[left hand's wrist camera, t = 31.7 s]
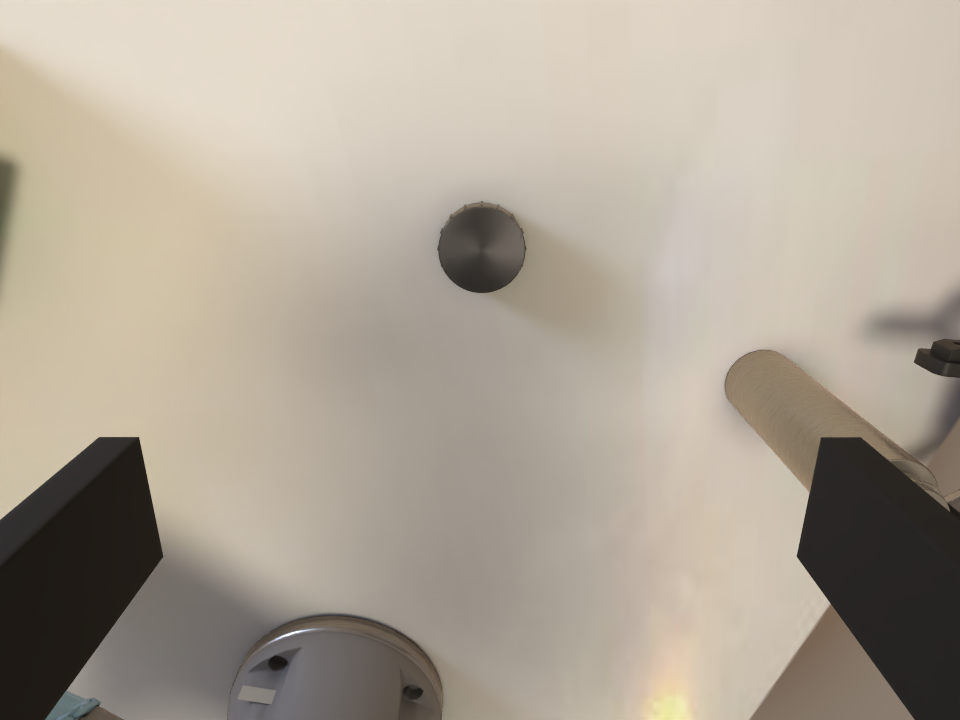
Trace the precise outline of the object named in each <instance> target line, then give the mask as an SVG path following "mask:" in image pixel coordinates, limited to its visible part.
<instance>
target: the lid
mask: <svg viewBox="0 0 960 720" xmlns="http://www.w3.org/2000/svg"><path fill="white" fill-rule="evenodd" d="M440 233H441V237H440V241H439V245H438V250H439V259H440V262H441V266H442V268H443V270H444V271H445V273H446V275H447V276H448V277H449V278H450V279H451V280H452V281H453V282H454V283H455V284H456V285H458V286H459V287H461V288H463V289H465V290H468V291H471V292H477V293H487V292H492V291H496V290H498V289H501V288H503V287H504V286H506V285H507V284H509V283H510V282H511V281H512V280H513V279H514V278H515V277H516V276H517V274H518V273H519V271H520V269H521V267H522V266H523V261H524V257H525V250H526V246H525V242H524V238H523V235H522V234H523V230H522V228H520V227H519V225H518V223H517V221H516V220H515V219H514V216H513V214H510V213H508V212H507V211H506V210H504V209H503V208H501V207H500V205H493V204H490V203H483V201H481V203H474V204H470V205H467V206H466V205H464V207H463V208H461V209H459V210H458V211H456V212H455V213H454V214H453V215H452V214H451V215H450V218H449V220H448V221H447V222H446V224H445V226H444V228H442V229H441V232H440Z"/></svg>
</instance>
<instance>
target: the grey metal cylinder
mask: <svg viewBox="0 0 960 720" xmlns="http://www.w3.org/2000/svg"><path fill="white" fill-rule="evenodd" d="M725 391H726V395H727V398H728V400H729V401H730V403H731V404H732V405H733V406H734V407H735V408H736V410H737V411H738V412H739V413H740V414H741V415H742V416H743V418H744V419H745V420H746V421H747V422H748V423H749V424H750V425H751V427H752V428H753V429H754V430H755V431H756V432H757V433H758V435H759V436H760V437H761V438H762V439H763V440H764V441H765V442H766V444H767V445H768V446H769V447H770V448H771V449H772V450H773V452H774V453H775V454H776V455H777V456H778V457H779V458H780V459H781V461H782V462H783V463H784V464H785V465H786V466H787V467H788V469H789V470H790V471H791V472H792V473H793V474H794V475H795V476H796V478H797V479H798V480H799V481H800V482H801V483H802V484H803V486H804V487H805V488H806V489H807V490H808V491H809V492H810V489H811V484H812V479H813V474H814V469H815V464H816V459H817V455H818V450H819V445H820V440H821V437H861V438H862V439H864V440H865V441H866V442H867V443H868V444H869V445H871V446H872V447H873V448H874V449H875V450H877V451H878V452H879V453H880V454H881V455H883V456H884V457H885V458H886V459H887V460H889V461H890V462H891V463H892V464H893V465H895V466H896V467H897V468H898V469H899V470H901V471H902V472H903V473H904V474H905V475H907V476H908V477H909V478H910V479H911V480H913V481H914V482H915V483H916V484H917V485H918V486H920V487H921V488H922V489H923V490H924V491H926V492H927V493H928V494H929V495H930V496H932V497H933V498H934V499H935V500H936V501H938V502H939V503H940V504H941V505H942V506H944V507H945V508H946V509H947V510H948V511H950V509H949V506H948V504H947V502H946V500H945V499H944V498H943V496H942V494H941V493H940V491H939V490H938V486H937V482H936V480H935V477H934V476H933V474H932V473H931V472H930V471H929V470H928V469H927V468H926V467H925V466H924V465H922V464H921V463H920V462H919V461H917V460H916V459H915V458H913V457H912V456H911V455H910V454H908V453H907V452H906V451H905V450H903V449H902V448H901V447H899V446H898V445H897V444H896V443H894V442H893V441H892V440H890V439H889V438H888V437H887V436H885V435H884V434H883V433H881V432H880V431H879V430H878V429H876V428H875V427H874V426H873V425H871V424H870V423H869V422H867V421H866V420H865V419H864V418H862V417H861V416H860V415H858V414H857V413H856V412H855V411H853V410H852V409H851V408H850V407H848V406H847V405H846V404H844V403H843V402H842V401H841V400H839V399H838V398H837V397H835V396H834V395H833V394H832V393H830V392H829V391H828V390H826V389H825V388H824V387H823V386H821V385H820V384H819V383H818V382H816V381H815V380H814V379H812V378H811V377H810V376H809V375H807V374H806V373H805V372H803V371H802V370H801V369H800V368H798V367H797V366H796V365H795V364H793V363H792V362H791V361H789V360H788V359H787V358H786V357H784V356H783V355H781V354H779V353H777V352H774V351H769V350H760V351H755V352H752V353H749V354H747V355H745V356H743V357H742V358H740V359H739V360H738V361H737V362H736V363H735V364H734V365H733V366H732V368H731V369H730V371H729V373H728V375H727V378H726V382H725Z"/></svg>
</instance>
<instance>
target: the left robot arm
mask: <svg viewBox="0 0 960 720" xmlns="http://www.w3.org/2000/svg"><path fill="white" fill-rule="evenodd" d="M162 558H163V553H162V548H161V543H160V538H159V533H158V528H157V524H156V519H155V514H154V509H153V504H152V499H151V494H150V489H149V484H148V479H147V474H146V469H145V464H144V459H143V455H142V450H141V445H140V440H139V437H99V438H98V439H96V440H95V441H94V442H93V443H92V444H91V445H89V446H88V447H87V448H86V449H85V450H83V451H82V452H81V453H80V454H79V455H77V456H76V457H75V458H74V459H73V460H71V461H70V462H69V463H68V464H67V465H65V466H64V467H63V468H62V469H61V470H59V471H58V472H57V473H56V474H55V475H53V476H52V477H51V478H50V479H49V480H47V481H46V482H45V483H44V484H43V485H42V486H40V487H39V488H38V489H37V490H36V491H34V492H33V493H32V494H31V495H30V496H28V497H27V498H26V499H25V500H24V501H22V502H21V503H20V504H19V505H18V506H16V507H15V508H14V509H13V510H12V511H10V512H9V513H8V514H7V515H6V516H4V517H3V518H2V519H1V520H0V720H123V719H121V718H119V717H118V716H116V715H114V714H112V713H110V712H108V711H107V710H105V709H103V708H101V707H99V705H100V704H101V702H100V701H98V700H97V699H95V698H92V699H87V700H86V699H84V698H82V697H80V696H78V695H75V694H73V693H71V692H69V691H67V689H68V687H69V686H70V685H71V683H72V682H73V681H74V679H75V678H76V676H77V675H78V674H79V672H80V671H81V669H82V668H83V667H84V665H85V664H86V663H87V661H88V660H89V658H90V657H91V656H92V654H93V653H94V652H95V650H96V649H97V647H98V646H99V645H100V643H101V642H102V640H103V639H104V638H105V636H106V635H107V634H108V632H109V631H110V629H111V628H112V627H113V625H114V624H115V622H116V621H117V620H118V618H119V617H120V616H121V614H122V613H123V611H124V610H125V609H126V607H127V606H128V605H129V603H130V602H131V600H132V599H133V598H134V596H135V595H136V593H137V592H138V591H139V589H140V588H141V587H142V585H143V584H144V582H145V581H146V580H147V578H148V577H149V575H150V574H151V573H152V571H153V570H154V569H155V567H156V566H157V564H158V563H159V562H160V560H161V559H162ZM797 558H798V559H799V560H800V562H801V563H802V564H803V566H804V567H805V569H806V570H807V571H808V573H809V574H810V575H811V577H812V578H813V580H814V581H815V582H816V584H817V585H818V587H819V588H820V589H821V591H822V592H823V593H824V595H825V596H826V598H827V599H828V600H829V602H830V603H831V605H832V606H833V607H834V609H835V610H836V611H837V613H838V614H839V616H840V617H841V618H842V620H843V621H844V622H845V624H846V625H847V627H848V628H849V629H850V631H851V632H852V634H853V635H854V636H855V638H856V639H857V640H858V642H859V643H860V645H861V646H862V647H863V649H864V650H865V652H866V653H867V654H868V656H869V657H870V658H871V660H872V661H873V663H874V664H875V665H876V667H877V668H878V669H879V671H880V672H881V674H882V675H883V676H884V678H885V679H886V681H887V682H888V683H889V685H890V686H891V687H892V689H893V690H894V692H895V693H896V694H897V696H898V697H899V699H900V700H901V701H902V703H903V704H904V705H905V707H906V708H907V710H908V711H909V712H910V714H911V715H912V716H913V718H914V719H915V720H960V520H959V519H958V518H957V517H956V516H954V515H953V514H952V513H951V512H950V511H948V510H947V509H946V508H945V507H944V506H942V505H941V504H940V503H939V502H938V501H936V500H935V499H934V498H933V497H932V496H930V495H929V494H928V493H927V492H926V491H924V490H923V489H922V488H921V487H920V486H918V485H917V484H916V483H915V482H914V481H913V480H911V479H910V478H909V477H908V476H907V475H905V474H904V473H903V472H902V471H901V470H899V469H898V468H897V467H896V466H895V465H893V464H892V463H891V462H890V461H889V460H887V459H886V458H885V457H884V456H883V455H881V454H880V453H879V452H878V451H877V450H875V449H874V448H873V447H872V446H871V445H869V444H868V443H867V442H866V441H865V440H864V439H862V438H861V437H821V440H820V445H819V450H818V455H817V459H816V464H815V469H814V474H813V479H812V484H811V489H810V494H809V499H808V504H807V509H806V514H805V519H804V524H803V528H802V533H801V538H800V543H799V548H798V553H797ZM442 704H443V696H442V688H441V684H440V680H439V678H438V675H437V673H436V671H435V669H434V667H433V665H432V664H431V662H430V661H429V660H428V658H427V657H426V656H425V655H424V653H423V652H422V651H421V650H420V649H419V648H418V647H417V646H416V645H414V644H413V643H412V642H411V641H409V640H408V639H407V638H405V637H404V636H402V635H401V634H399V633H397V632H395V631H393V630H391V629H389V628H387V627H385V626H383V625H380V624H377V623H374V622H371V621H367V620H363V619H359V618H353V617H345V616H318V617H311V618H305V619H301V620H297V621H294V622H291V623H288V624H286V625H283V626H281V627H279V628H277V629H275V630H273V631H271V632H270V633H268V634H267V635H265V636H264V637H263V638H262V639H260V640H259V641H258V642H257V643H256V644H255V645H254V646H253V647H252V648H251V650H250V651H249V652H248V654H247V655H246V657H245V658H244V660H243V662H242V664H241V666H240V669H239V671H238V673H237V676H236V678H235V680H234V683H233V685H232V689H231V693H230V698H229V703H228V716H227V720H442Z"/></svg>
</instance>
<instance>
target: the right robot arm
mask: <svg viewBox="0 0 960 720" xmlns="http://www.w3.org/2000/svg"><path fill="white" fill-rule="evenodd" d="M914 363H916V364H917V365H919V366H921V367H923V368H925V369H926V370H928V371H930V372H932V373H934V374H937V375H941V376H946V377H958V378H960V340H951V339H943V340H939V341H935V342H933V345H932V348H931V349H923V348H920V349H918V351H917V354H916V357H915V360H914ZM943 498H944V499H945V500H946V502H947V504H948V506H949V509H950V512H951V513H952V514H953V515H954V516H956V517H957V518H958V519H959V520H960V489H959V490H957V491H955V492H953V493H951V494H949V495H947V496H944V497H943Z"/></svg>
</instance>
